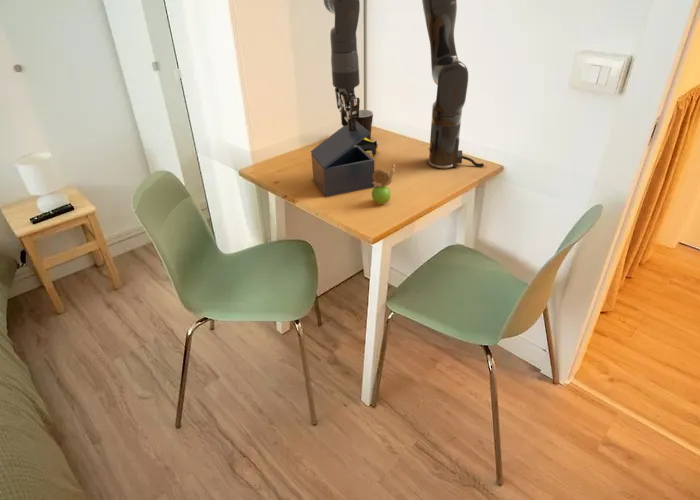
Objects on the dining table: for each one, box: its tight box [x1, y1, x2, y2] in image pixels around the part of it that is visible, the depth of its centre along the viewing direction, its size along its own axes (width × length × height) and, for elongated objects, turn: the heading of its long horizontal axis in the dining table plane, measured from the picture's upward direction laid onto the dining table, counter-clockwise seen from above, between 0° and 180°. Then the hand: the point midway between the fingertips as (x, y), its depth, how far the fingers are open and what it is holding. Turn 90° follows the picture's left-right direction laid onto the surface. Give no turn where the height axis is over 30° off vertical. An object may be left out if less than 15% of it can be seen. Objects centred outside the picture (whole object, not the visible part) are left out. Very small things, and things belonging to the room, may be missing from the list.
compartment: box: [310, 145, 376, 198], centre depth 143 cm, size 16×13×9 cm
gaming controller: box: [355, 138, 379, 159], centre depth 162 cm, size 15×6×10 cm
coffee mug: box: [356, 109, 374, 141], centre depth 172 cm, size 12×9×10 cm
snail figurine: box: [371, 164, 396, 205], centre depth 131 cm, size 5×6×12 cm
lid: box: [310, 114, 370, 169], centre depth 137 cm, size 17×13×5 cm
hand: (348, 127), depth 137 cm, fingers closed on lid, 5 cm apart
